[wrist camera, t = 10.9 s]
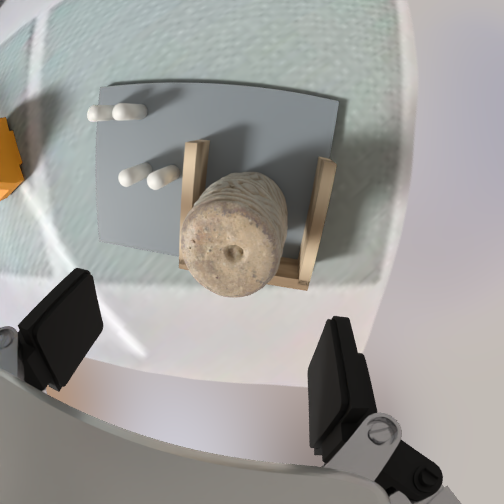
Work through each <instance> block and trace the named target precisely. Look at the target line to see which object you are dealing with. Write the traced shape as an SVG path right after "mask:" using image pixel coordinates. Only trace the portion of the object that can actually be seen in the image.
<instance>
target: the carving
mask: <svg viewBox="0 0 504 504" xmlns="http://www.w3.org/2000/svg"><path fill="white" fill-rule="evenodd" d="M287 220H288V212H287V205H286V200H285V197H284V195H283V193H282V191H281V190H280V188H279V187H278V185H277V184H276V183H275V182H274V181H273V180H272V179H270V178H269V177H267V176H266V175H263V174H261V173H258V172H242V173H231V174H229V175H227V176H225V177H222V178H221V179H220V180H218V181H216V182H214V183H213V184H211V185H210V186H209V187H208V188H207V189H206V190H205V191H204V192H203V193H202V195H201V196H200V198H199V199H198V201H196V202H195V203H194V207H193V208H192V209H191V210H190V211H189V213H188V214H187V216H186V218H185V220H184V222H183V224H182V227H181V233H180V242H181V251H182V254H183V258H184V261H185V263H186V266H187V268H188V269H189V271H190V273H191V274H192V275H193V277H194V278H195V279H196V280H197V281H198V282H199V283H200V284H201V285H203V286H204V287H205V288H207V289H209V290H210V291H212V292H214V293H215V294H218V295H220V296H224V297H244V296H248V295H251V294H253V293H255V292H257V291H258V290H260V289H261V288H263V287H264V286H265V285H266V284H267V283H268V282H269V281H270V280H271V279H272V278H273V277H274V276H275V274H276V272H277V270H278V267H279V264H280V258H281V256H282V253H283V247H284V243H285V240H286V237H287V229H288V226H287V224H288V221H287Z"/></svg>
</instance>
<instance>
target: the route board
mask: <svg viewBox="0 0 504 504" xmlns="http://www.w3.org/2000/svg"><path fill="white" fill-rule="evenodd" d="M338 105H339V101H336V100H331V99H327V98H322V97H317V96H312V95H307V94H301V93H295V92H289V91H283V90H276V89H269V88H261V87H252V86H242V85H229V84H213V83H144V84H128V85H117V86H107V87H100V94H99V104H98V105H93V106H91V107H90V108H89V110H88V112H87V117H88V119H89V121H91V122H96V121H97V132H96V203H97V220H98V232H99V241H100V242H105V243H110V244H116V245H121V246H126V247H131V248H136V249H142V250H147V251H152V252H157V253H163V254H168V255H174V256H179V243H180V214H181V194H182V178H183V165H184V152H185V142H189V141H194V140H199V139H200V140H210V145H209V154H208V164H207V174H206V185H205V190H206V189H207V188H208V187H209V186H210V185H211V184H213V183H214V182H216V181H218V180H220V179H221V178H222V177H225V176H227V175H229V174H231V173H242V172H258V173H261V174H263V175H266V176H267V177H269V178H270V179H272V180H273V181H274V182H275V183H276V184H277V185H278V187H279V188H280V190H281V191H282V193H283V195H284V197H285V200H286V205H287V212H288V220H287V221H288V224H287V226H288V229H287V237H286V240H285V243H284V247H283V253H282V256H281V257H285V258H291V259H297V260H298V256H299V251H300V247H301V242H302V238H303V233H304V229H305V224H306V219H307V214H308V209H309V204H310V199H311V194H312V189H313V184H314V179H315V174H316V168H317V163H318V157H324V158H328V159H329V158H330V152H331V147H332V141H333V136H334V130H335V124H336V118H337V111H338Z"/></svg>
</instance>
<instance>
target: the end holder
mask: <svg viewBox="0 0 504 504" xmlns="http://www.w3.org/2000/svg"><path fill="white" fill-rule="evenodd" d="M209 145H210V140H200V139H199V140H194V141H189V142H185V152H184V165H183V178H182V194H181V214H180V233H181V227H182V224H183V222H184V220H185V218H186V216H187V214H188V213H189V211H190V210H191V209H192V208H193V207H194V203H195V202H196V201H198V199H199V198H200V196H201V195H202V193H203V192H204V191H205V185H206V174H207V164H208V154H209ZM336 167H337V164H336V163H334V162H333V161H332V160H330V159H328V158H324V157H318V163H317V168H316V174H315V179H314V184H313V189H312V194H311V199H310V204H309V209H308V214H307V219H306V224H305V229H304V233H303V238H302V242H301V247H300V251H299V256H298V260H297V259H291V258H285V257H281V258H280V264H279V267H278V270H277V272H276V274H275V276H274V277H273V278H272V279H271V280H270V281H269V282H268V283H267V284H269V285H275V286H281V287H287V288H293V289H300V290H306V291H307V290H308V286H309V282H310V279H311V275H312V271H313V267H314V264H315V260H316V256H317V252H318V248H319V244H320V240H321V235H322V231H323V227H324V223H325V218H326V214H327V209H328V205H329V200H330V196H331V191H332V186H333V182H334V177H335V172H336ZM179 268H180V269H185V270H189V269H188V268H187V266H186V263H185V261H184V258H183V254H182V251H181V242H180V243H179Z"/></svg>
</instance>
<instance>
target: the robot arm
mask: <svg viewBox="0 0 504 504" xmlns="http://www.w3.org/2000/svg"><path fill="white" fill-rule="evenodd" d="M18 327H19V329H20V331H19V332H18V333H17V331H16V329H14V328H13V327H10V326H6V327H2V328H0V504H461V503H460V501H459V500H458V499H457V498H456V496H455V495H454V494H453V492H452V491H451V490H450V489H449V487H448V486H446V487H443V485H442V481H443V476H442V472H441V470H440V468H439V467H438V466H437V465H436V464H435V463H434V462H432V461H431V460H429V459H428V458H426V457H425V456H424V455H422V454H420V453H419V452H418V451H416V450H415V449H414V448H412V447H411V446H409V445H408V444H406V443H405V442H404V441H402V440H401V437H402V430H401V427H400V425H399V423H398V422H397V420H396V419H394V418H393V417H392V416H390V415H388V414H385V413H377V408H376V404H375V399H374V394H373V389H372V385H371V381H370V377H369V372H368V368H367V364H366V360H365V357H364V355H363V354H362V353H358V352H357V347H356V343H355V339H354V335H353V331H352V327H351V323H350V320H349V318H347V317H339V316H333V318H332V320H331V319H328V320H327V321H326V324H325V327H324V329H323V332H322V335H321V337H320V340H319V342H318V345H317V347H316V350H315V352H314V355H313V357H312V360H311V362H310V365H309V368H308V395H309V432H310V435H309V437H310V447H311V448H314V455H322V459H323V462H324V463H325V464H324V465H323V466H322V467H317V466H305V465H295V464H283V463H273V462H263V461H255V460H249V459H241V458H235V457H228V456H223V455H218V454H213V453H208V452H202V451H198V450H193V449H190V448H185V447H181V446H178V445H174V444H170V443H166V442H163V441H159V440H156V439H153V438H150V437H146V436H143V435H140V434H137V433H134V432H131V431H128V430H126V429H123V428H120V427H117V426H115V425H112V424H109V423H107V422H105V421H102V420H100V419H97V418H95V417H93V416H91V415H88V414H86V413H84V412H81V411H79V410H77V409H75V408H73V407H70V406H69V405H67V404H64V403H63V402H61V401H59V400H57V399H55V398H53V397H51V396H49V395H47V392H46V387H47V385H49V387H51V388H53V389H55V390H57V391H60V389H61V388H62V386H63V387H64V386H66V384H67V383H68V381H69V380H70V378H71V376H72V375H73V373H74V372H75V370H76V369H77V367H78V366H79V364H80V363H81V361H82V360H83V358H84V357H85V355H86V354H87V352H88V351H89V349H90V348H91V346H92V345H93V344H94V342H95V341H96V339H97V338H98V336H99V335H100V333H101V332H102V330H103V321H102V317H101V313H100V309H99V304H98V300H97V295H96V290H95V285H94V280H93V276H92V275H91V274H90V272H89V271H88V270H84V269H80V268H76V269H74V270H73V271H72V272H71V273H70V274H69V275H68V276H67V277H65V278H64V279H63V280H62V281H61V282H60V283H59V284H58V285H57V286H56V287H55V288H54V289H53V290H52V291H51V292H50V293H49V294H48V295H47V296H46V297H45V298H44V299H43V300H42V301H41V302H40V303H39V304H38V305H37V306H36V307H35V308H34V309H33V310H32V311H31V312H30V313H29V314H28V315H27V316H26V317H25V318H24V319H23V320H22V322H21V323H20V324H19V325H18Z"/></svg>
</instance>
